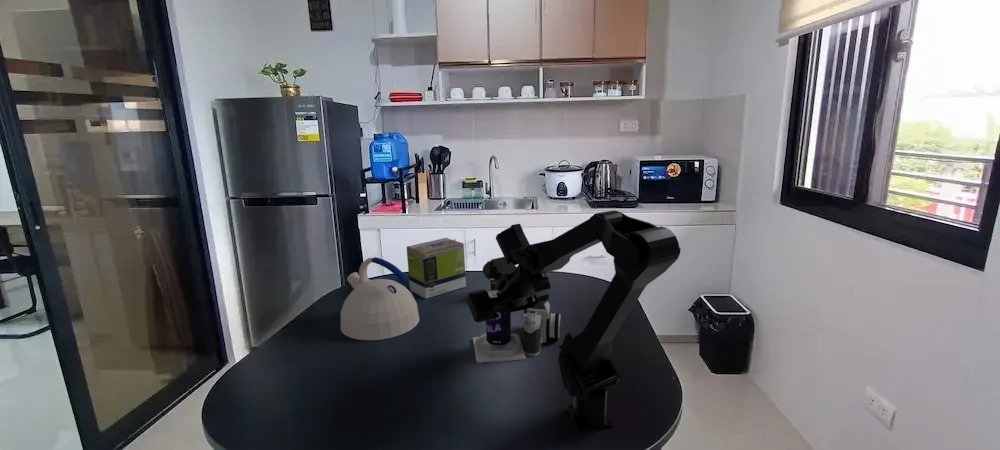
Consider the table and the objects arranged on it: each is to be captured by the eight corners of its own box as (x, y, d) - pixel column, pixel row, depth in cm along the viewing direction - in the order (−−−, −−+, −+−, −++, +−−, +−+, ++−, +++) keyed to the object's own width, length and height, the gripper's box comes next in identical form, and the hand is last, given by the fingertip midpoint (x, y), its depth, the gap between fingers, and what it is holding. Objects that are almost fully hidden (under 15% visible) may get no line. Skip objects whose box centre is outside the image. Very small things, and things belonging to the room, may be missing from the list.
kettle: (379, 302, 135) (375, 243, 131) (435, 316, 125) (432, 253, 120) (322, 329, 118) (314, 262, 114) (381, 348, 108) (375, 275, 103)
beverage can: (485, 337, 108) (484, 290, 106) (509, 336, 109) (508, 288, 106) (487, 349, 103) (485, 299, 100) (512, 348, 103) (511, 297, 101)
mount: (526, 359, 102) (526, 351, 101) (476, 363, 100) (476, 355, 100) (517, 336, 112) (517, 328, 112) (472, 339, 111) (472, 332, 111)
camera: (558, 358, 102) (559, 317, 100) (519, 355, 103) (519, 314, 101) (561, 327, 117) (562, 290, 115) (527, 325, 119) (527, 288, 116)
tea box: (449, 279, 153) (447, 236, 149) (466, 287, 145) (465, 242, 142) (408, 290, 143) (405, 245, 140) (425, 300, 136) (422, 252, 132)
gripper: (541, 242, 102) (513, 276, 114) (468, 256, 93) (446, 292, 104) (564, 285, 98) (533, 316, 109) (490, 305, 88) (464, 337, 99)
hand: (494, 314), depth 106 cm, fingers closed on beverage can, 5 cm apart
